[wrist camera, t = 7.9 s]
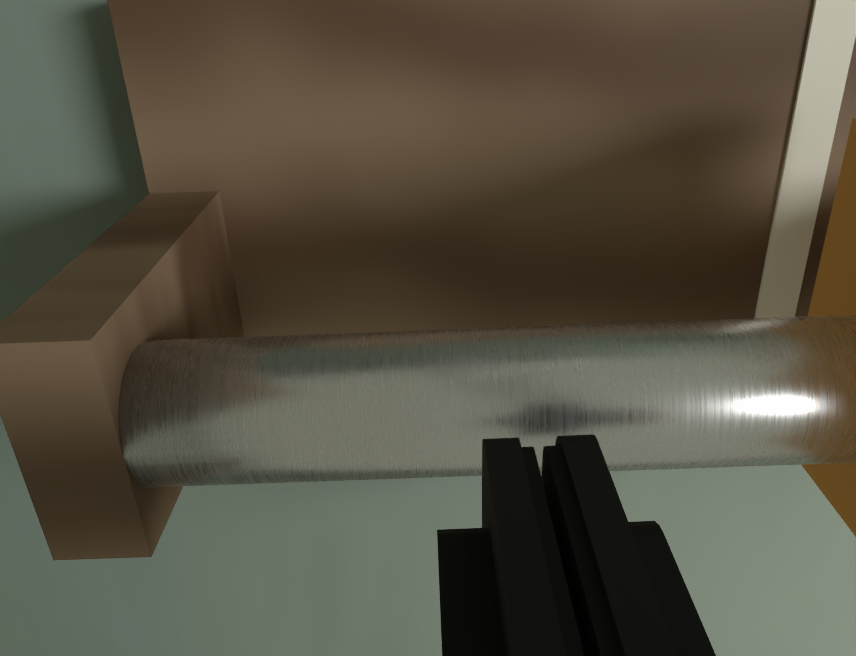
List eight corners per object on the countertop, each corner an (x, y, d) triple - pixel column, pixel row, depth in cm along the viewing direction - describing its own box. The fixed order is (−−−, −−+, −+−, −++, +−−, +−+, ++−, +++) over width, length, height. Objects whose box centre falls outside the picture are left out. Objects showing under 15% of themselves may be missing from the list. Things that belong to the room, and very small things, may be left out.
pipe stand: (128, -3, 20) (-147, 33, 10) (1058, -40, 19) (1672, -39, 10) (220, 448, 26) (108, 724, 17) (908, 424, 26) (1186, 688, 17)
